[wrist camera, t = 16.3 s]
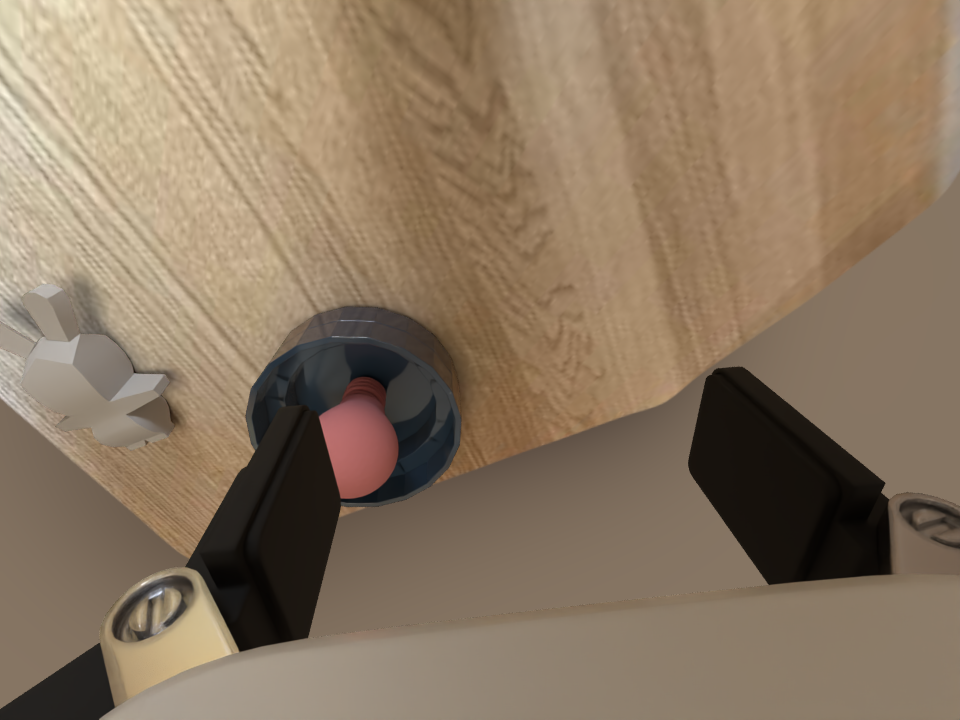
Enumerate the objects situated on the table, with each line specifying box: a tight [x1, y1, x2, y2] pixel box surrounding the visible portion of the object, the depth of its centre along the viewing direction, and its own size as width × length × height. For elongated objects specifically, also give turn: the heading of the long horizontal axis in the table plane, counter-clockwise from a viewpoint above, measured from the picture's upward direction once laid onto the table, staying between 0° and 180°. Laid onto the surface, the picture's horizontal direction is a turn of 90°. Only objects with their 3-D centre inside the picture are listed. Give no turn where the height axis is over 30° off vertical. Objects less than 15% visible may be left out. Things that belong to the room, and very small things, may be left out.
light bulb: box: [319, 377, 399, 499], centre depth 37 cm, size 7×7×12 cm
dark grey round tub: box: [245, 307, 461, 507], centre depth 40 cm, size 17×17×6 cm
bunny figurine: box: [0, 284, 175, 451], centre depth 37 cm, size 10×5×15 cm
